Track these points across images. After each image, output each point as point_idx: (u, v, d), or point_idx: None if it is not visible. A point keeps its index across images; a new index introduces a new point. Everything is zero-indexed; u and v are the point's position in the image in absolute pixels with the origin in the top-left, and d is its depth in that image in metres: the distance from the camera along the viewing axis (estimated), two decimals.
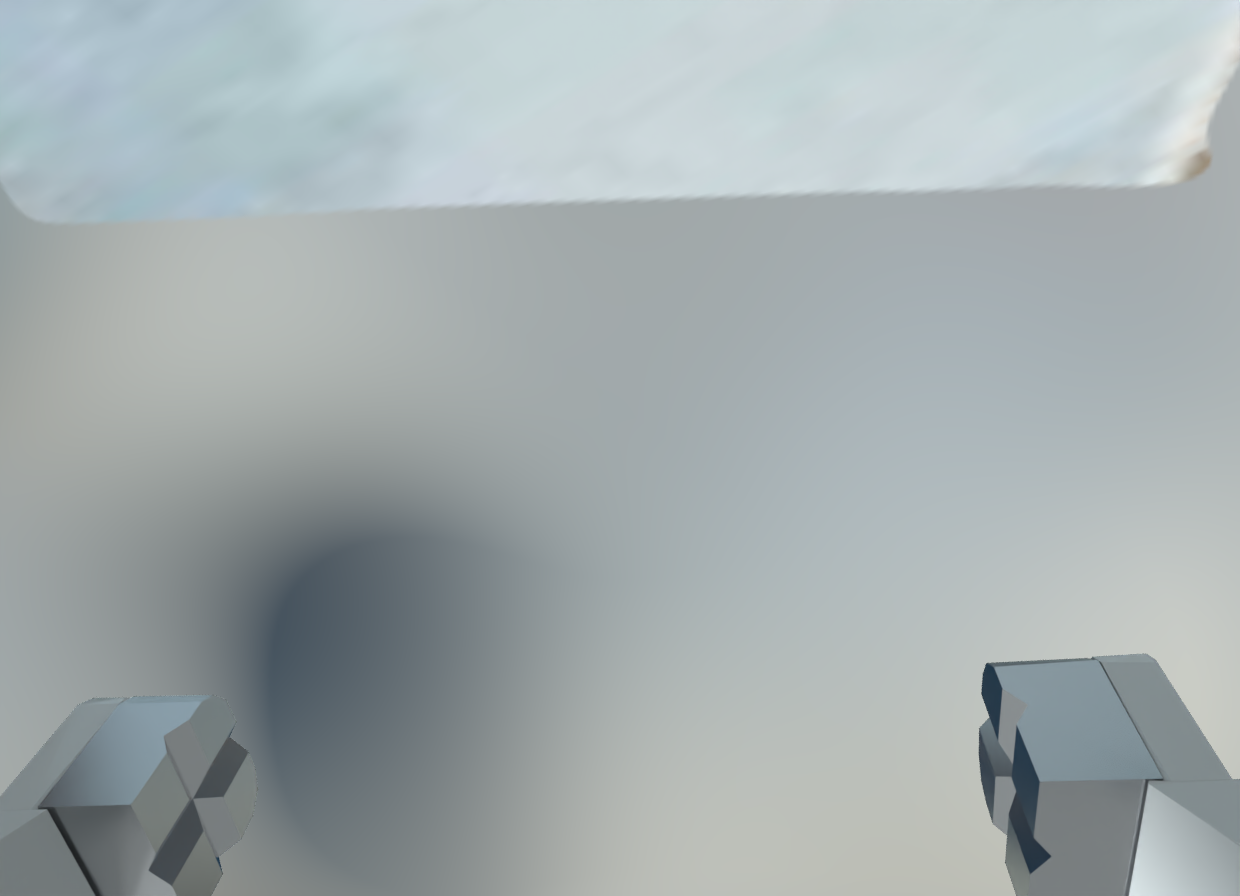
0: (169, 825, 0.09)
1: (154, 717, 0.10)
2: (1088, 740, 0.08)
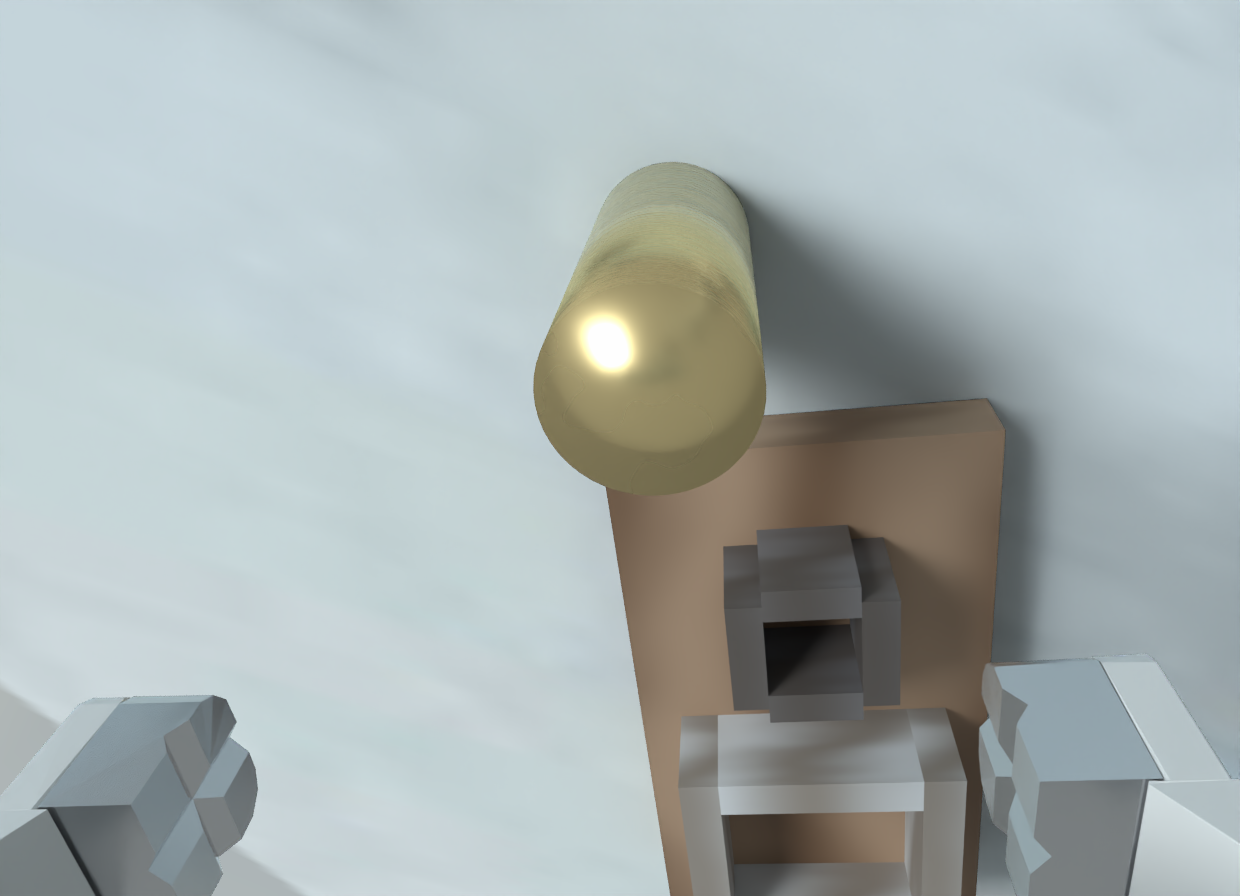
0: (169, 825, 0.09)
1: (154, 717, 0.10)
2: (1090, 738, 0.08)
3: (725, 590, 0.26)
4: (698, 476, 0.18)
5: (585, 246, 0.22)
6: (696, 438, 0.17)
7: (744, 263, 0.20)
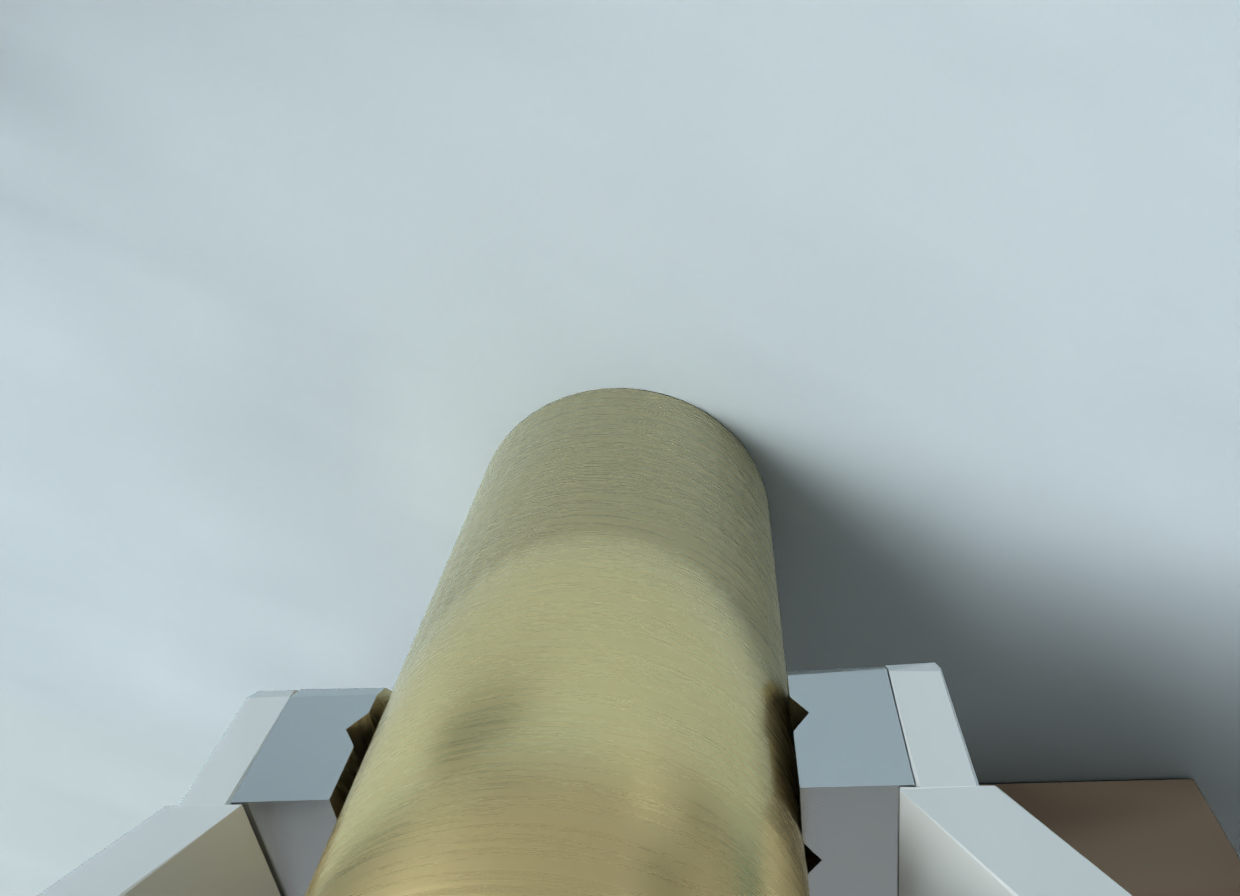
0: None
1: (331, 710, 0.10)
2: (856, 746, 0.08)
3: None
4: None
5: (413, 643, 0.10)
6: None
7: (775, 760, 0.08)
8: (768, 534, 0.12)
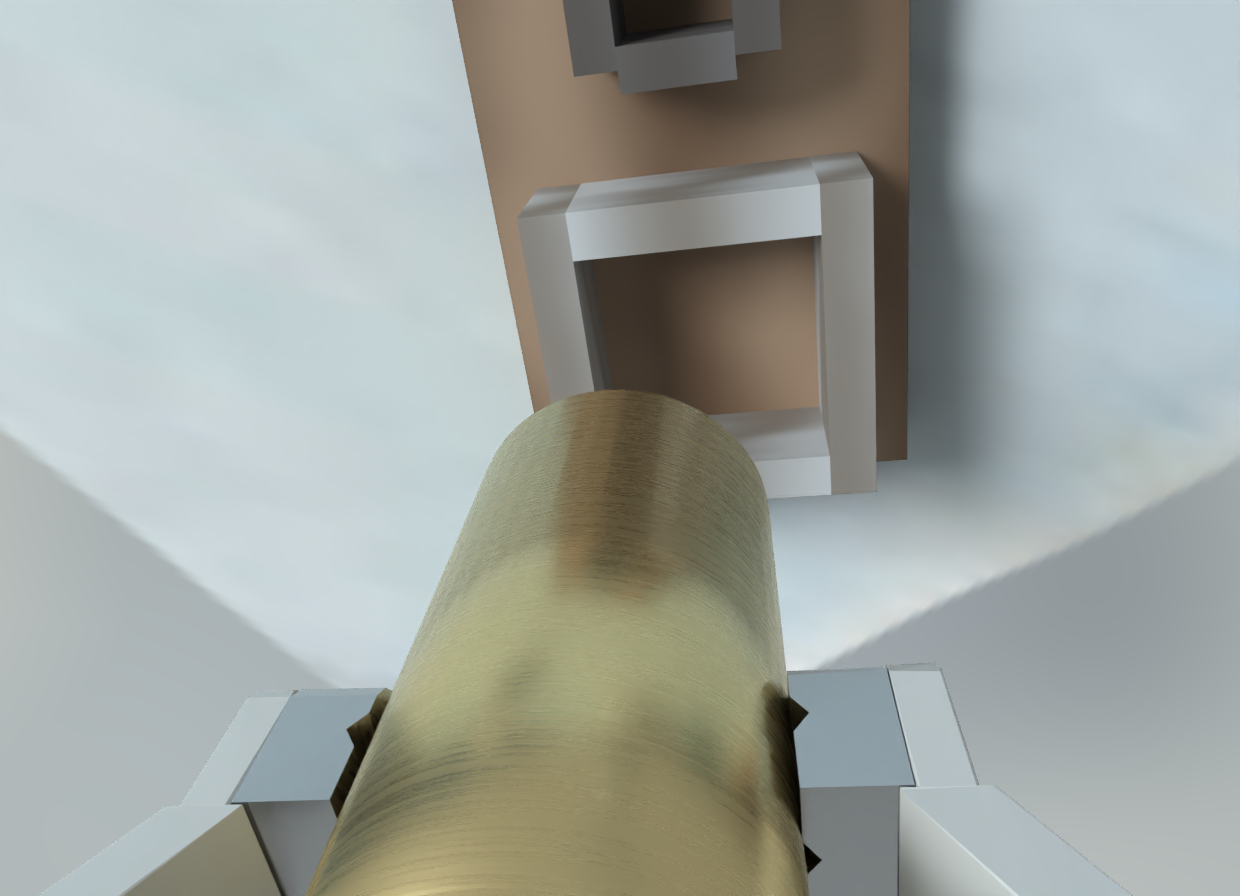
0: None
1: (331, 710, 0.10)
2: (855, 746, 0.08)
3: None
4: None
5: (413, 645, 0.10)
6: None
7: (775, 763, 0.08)
8: (768, 536, 0.12)
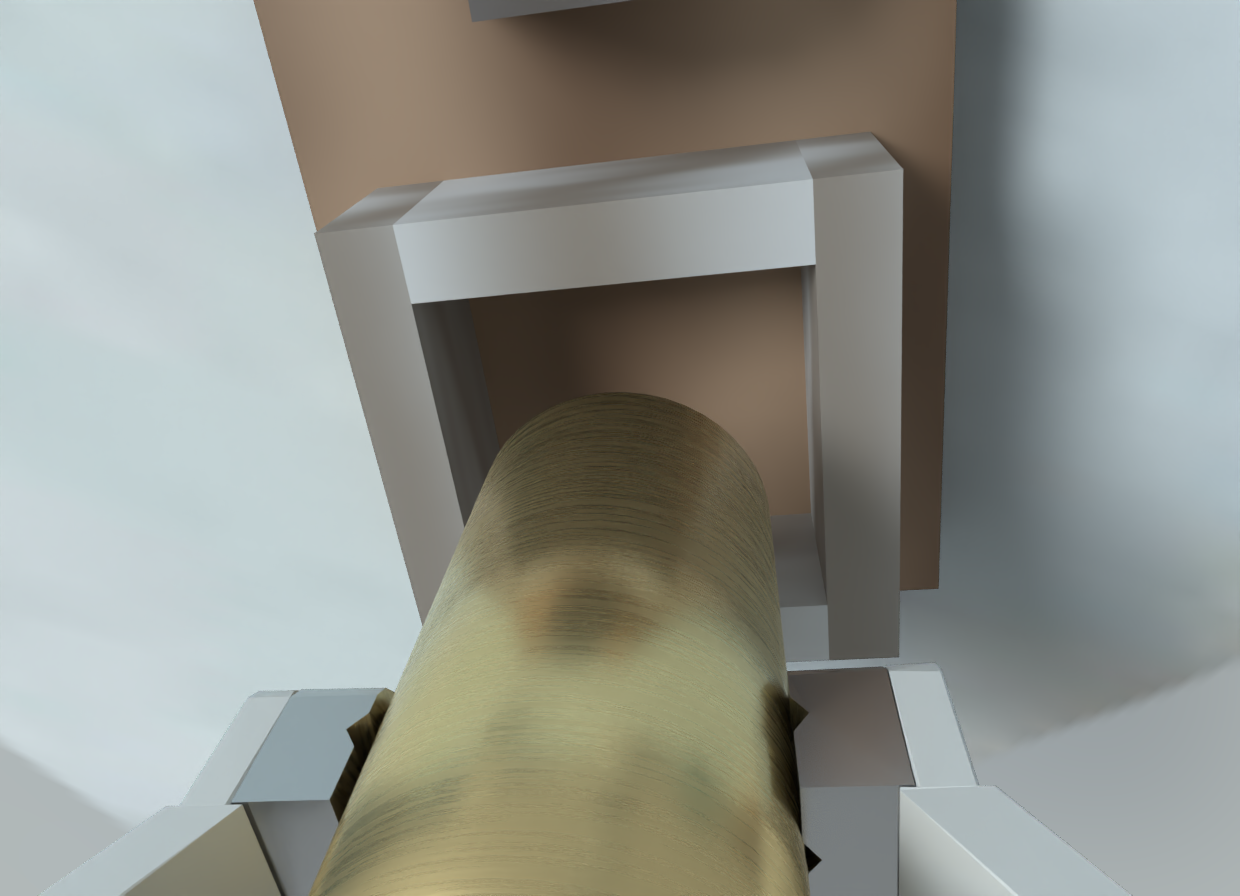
0: None
1: (331, 710, 0.10)
2: (855, 746, 0.08)
3: None
4: None
5: (414, 648, 0.10)
6: None
7: (776, 767, 0.08)
8: (769, 538, 0.12)
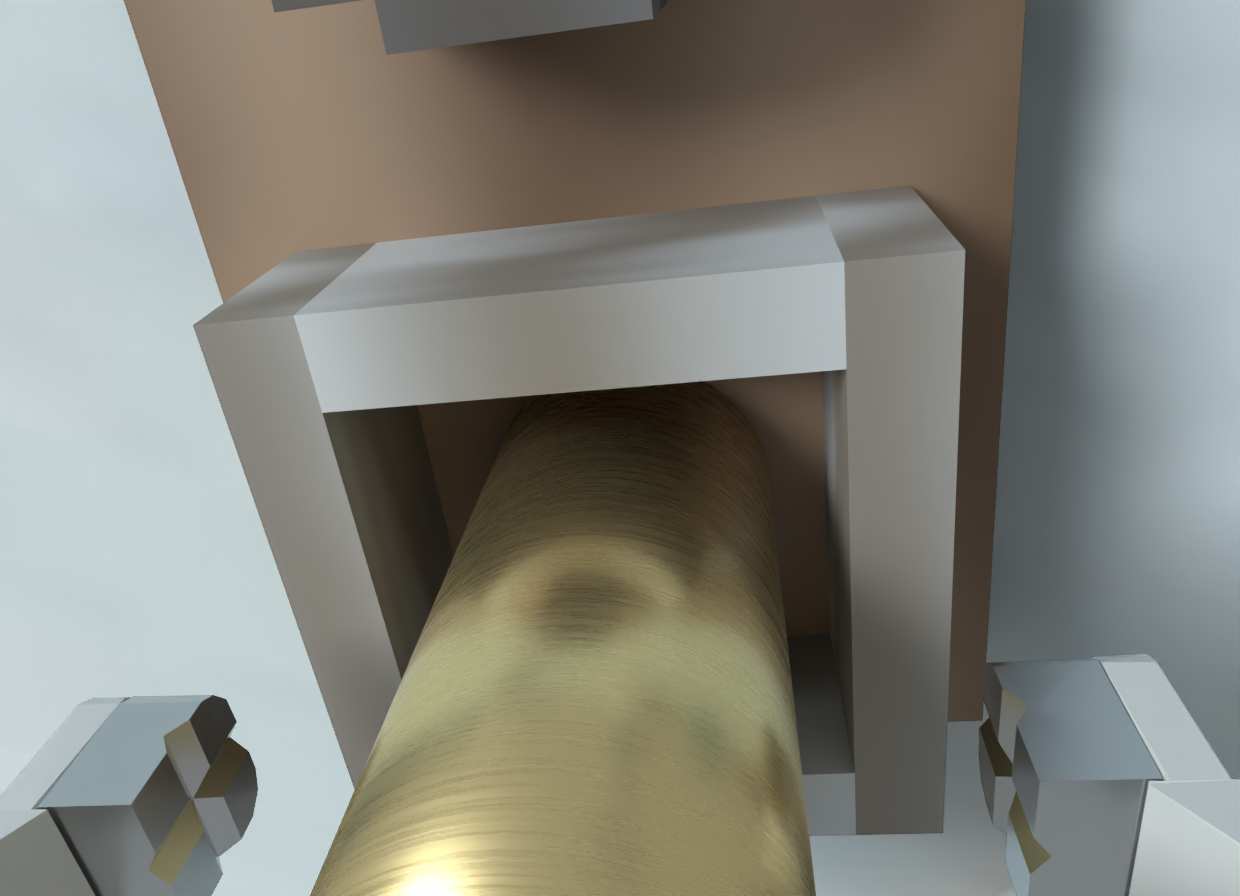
0: (169, 825, 0.09)
1: (154, 717, 0.10)
2: (1088, 738, 0.08)
3: None
4: None
5: (441, 587, 0.11)
6: None
7: (774, 684, 0.09)
8: (768, 496, 0.13)
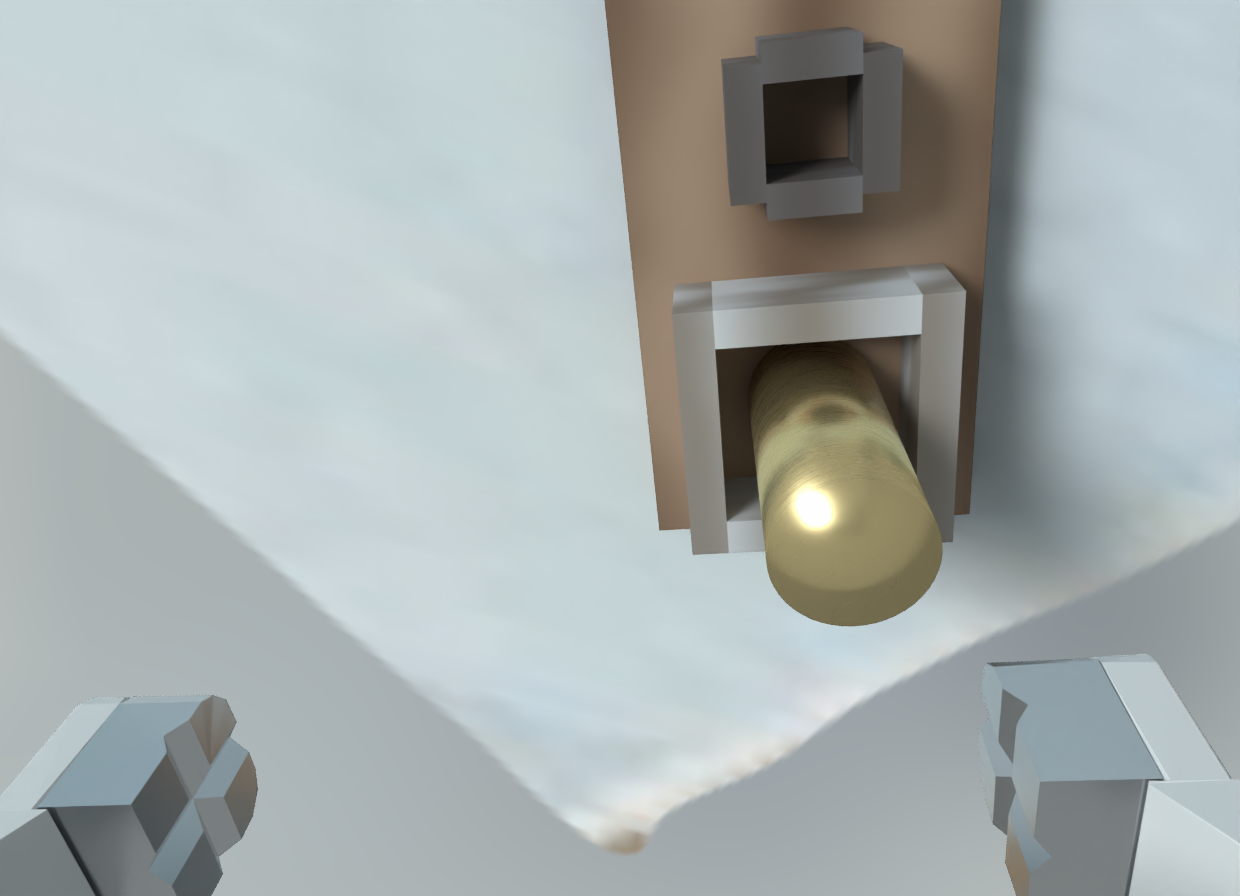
0: (169, 825, 0.09)
1: (154, 717, 0.10)
2: (1088, 738, 0.08)
3: (724, 65, 0.26)
4: (883, 613, 0.24)
5: (766, 415, 0.28)
6: (885, 586, 0.23)
7: None
8: None
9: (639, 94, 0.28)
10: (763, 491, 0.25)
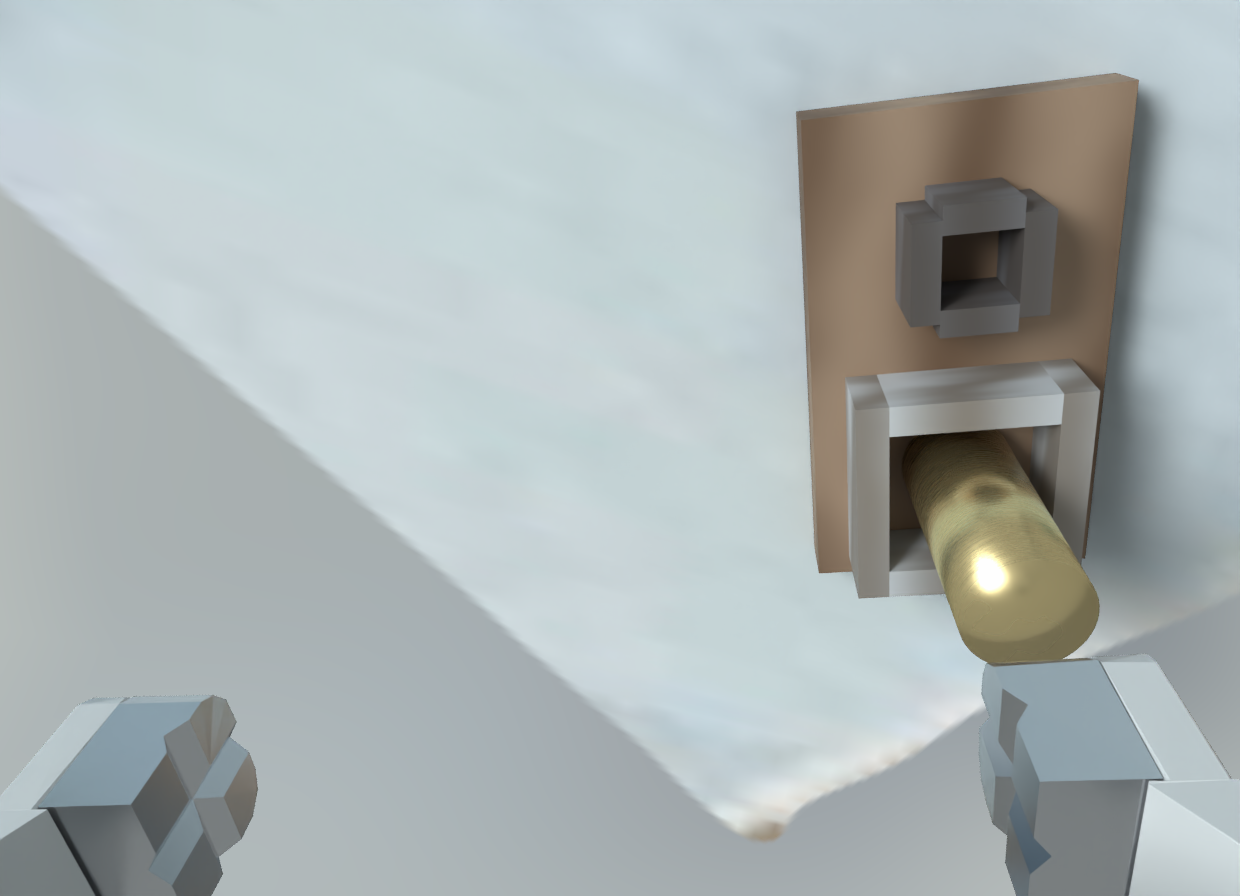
0: (169, 825, 0.09)
1: (154, 717, 0.10)
2: (1088, 738, 0.08)
3: (908, 217, 0.32)
4: (1048, 659, 0.30)
5: (933, 491, 0.34)
6: (1051, 639, 0.30)
7: (1049, 513, 0.33)
8: None
9: (826, 230, 0.34)
10: (945, 560, 0.32)
